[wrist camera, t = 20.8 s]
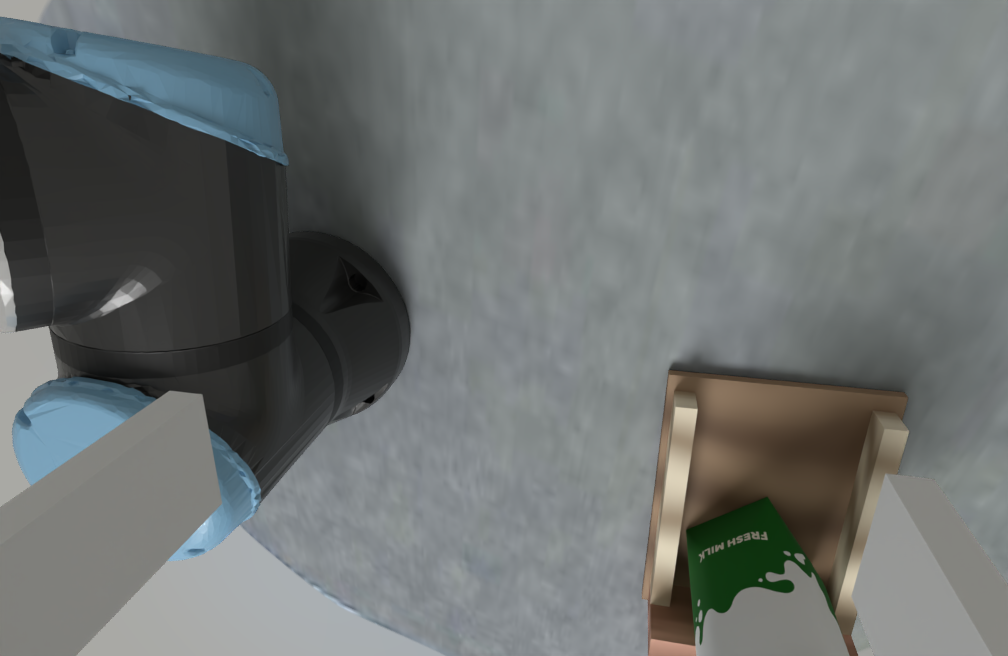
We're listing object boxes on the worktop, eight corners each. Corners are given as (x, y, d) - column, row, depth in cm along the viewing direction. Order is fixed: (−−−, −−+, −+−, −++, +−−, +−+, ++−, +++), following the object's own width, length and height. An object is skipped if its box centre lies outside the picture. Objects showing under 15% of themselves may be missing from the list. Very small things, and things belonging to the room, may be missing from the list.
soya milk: (772, 482, 49) (847, 728, 31) (829, 568, 51) (931, 849, 33) (669, 525, 52) (681, 770, 34) (725, 605, 54) (766, 879, 36)
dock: (668, 370, 48) (672, 415, 42) (904, 392, 45) (944, 444, 39) (641, 591, 56) (641, 657, 50) (840, 622, 53) (866, 695, 47)
